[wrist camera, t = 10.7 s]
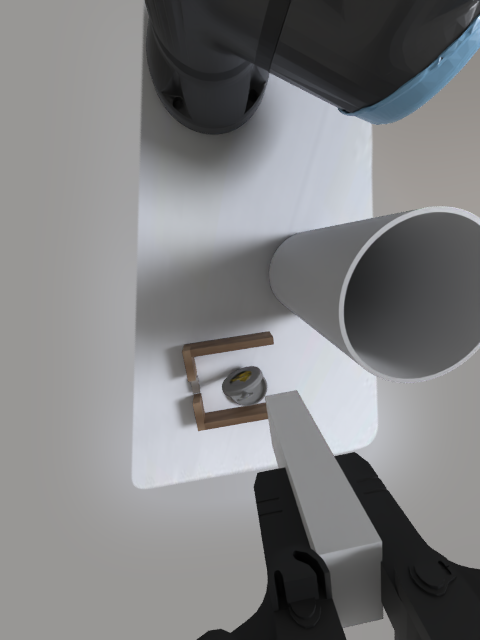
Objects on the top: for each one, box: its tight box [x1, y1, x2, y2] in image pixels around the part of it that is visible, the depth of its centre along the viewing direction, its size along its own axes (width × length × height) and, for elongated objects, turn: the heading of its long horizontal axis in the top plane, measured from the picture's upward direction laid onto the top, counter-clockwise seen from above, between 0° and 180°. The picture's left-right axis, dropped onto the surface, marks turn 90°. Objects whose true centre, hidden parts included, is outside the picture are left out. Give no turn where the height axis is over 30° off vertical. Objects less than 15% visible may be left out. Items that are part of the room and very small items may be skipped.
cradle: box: [182, 332, 274, 431], centre depth 45 cm, size 14×14×3 cm
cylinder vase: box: [269, 206, 480, 383], centre depth 31 cm, size 12×12×25 cm
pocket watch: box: [222, 366, 267, 406], centre depth 42 cm, size 8×8×10 cm
